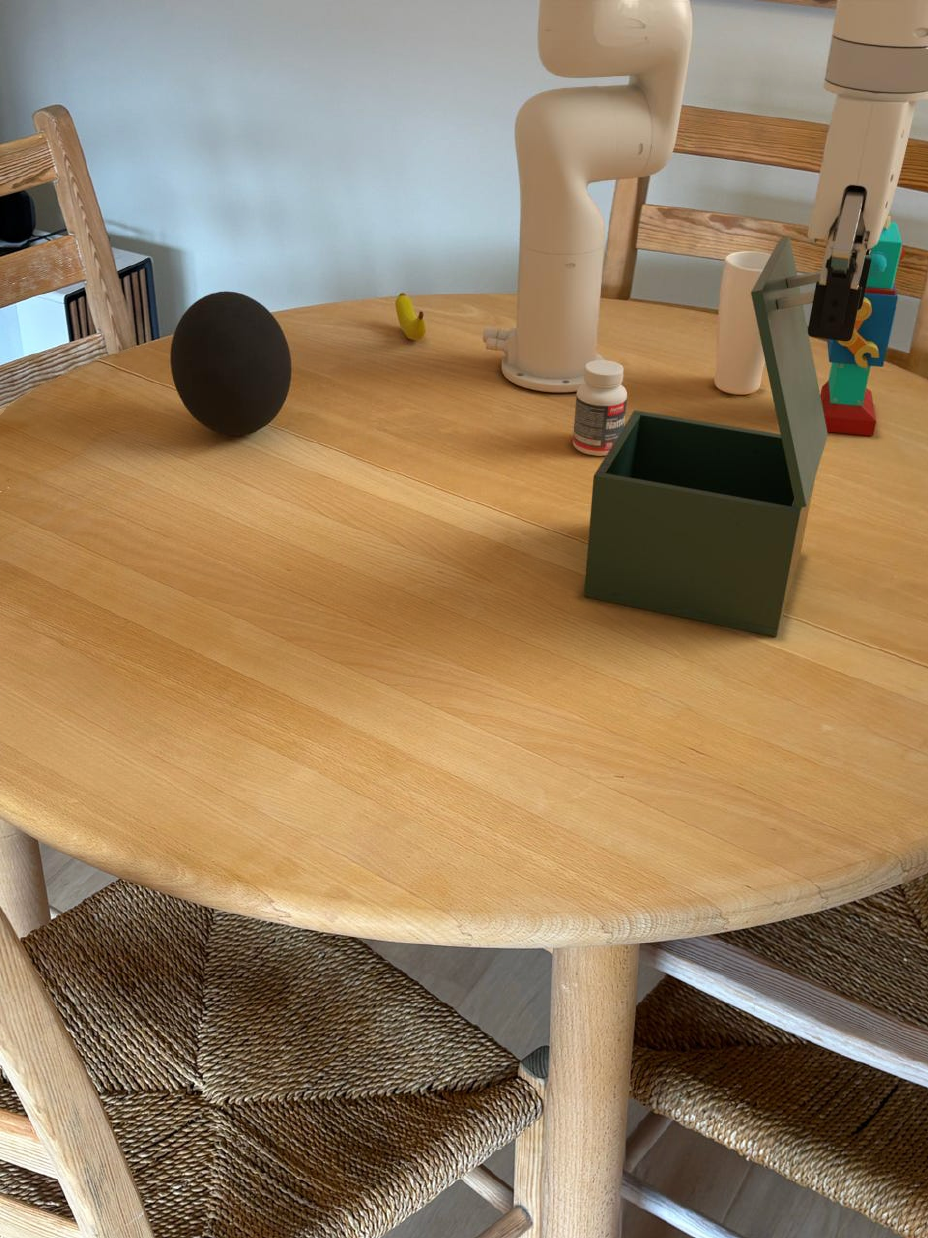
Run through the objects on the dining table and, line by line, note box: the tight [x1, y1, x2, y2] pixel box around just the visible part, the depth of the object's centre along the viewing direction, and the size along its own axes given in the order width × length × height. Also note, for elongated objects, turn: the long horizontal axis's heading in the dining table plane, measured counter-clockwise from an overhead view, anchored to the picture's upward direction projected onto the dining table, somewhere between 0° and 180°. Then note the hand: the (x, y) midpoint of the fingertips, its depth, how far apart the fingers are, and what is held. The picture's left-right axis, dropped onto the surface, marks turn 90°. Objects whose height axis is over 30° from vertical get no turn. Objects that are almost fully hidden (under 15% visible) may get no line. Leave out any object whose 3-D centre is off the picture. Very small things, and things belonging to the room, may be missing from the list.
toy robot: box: [820, 214, 906, 437], centre depth 132 cm, size 12×6×25 cm, turn 168°
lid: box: [751, 235, 829, 508], centre depth 97 cm, size 17×14×6 cm
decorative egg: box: [169, 290, 293, 437], centre depth 130 cm, size 12×12×15 cm
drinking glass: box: [713, 250, 772, 396], centre depth 141 cm, size 7×7×15 cm
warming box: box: [583, 409, 816, 638], centre depth 107 cm, size 17×14×12 cm
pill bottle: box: [572, 359, 628, 457], centre depth 130 cm, size 5×5×9 cm
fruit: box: [395, 292, 427, 341], centre depth 155 cm, size 10×2×5 cm, turn 16°
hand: (835, 319), depth 94 cm, fingers closed on lid, 6 cm apart
